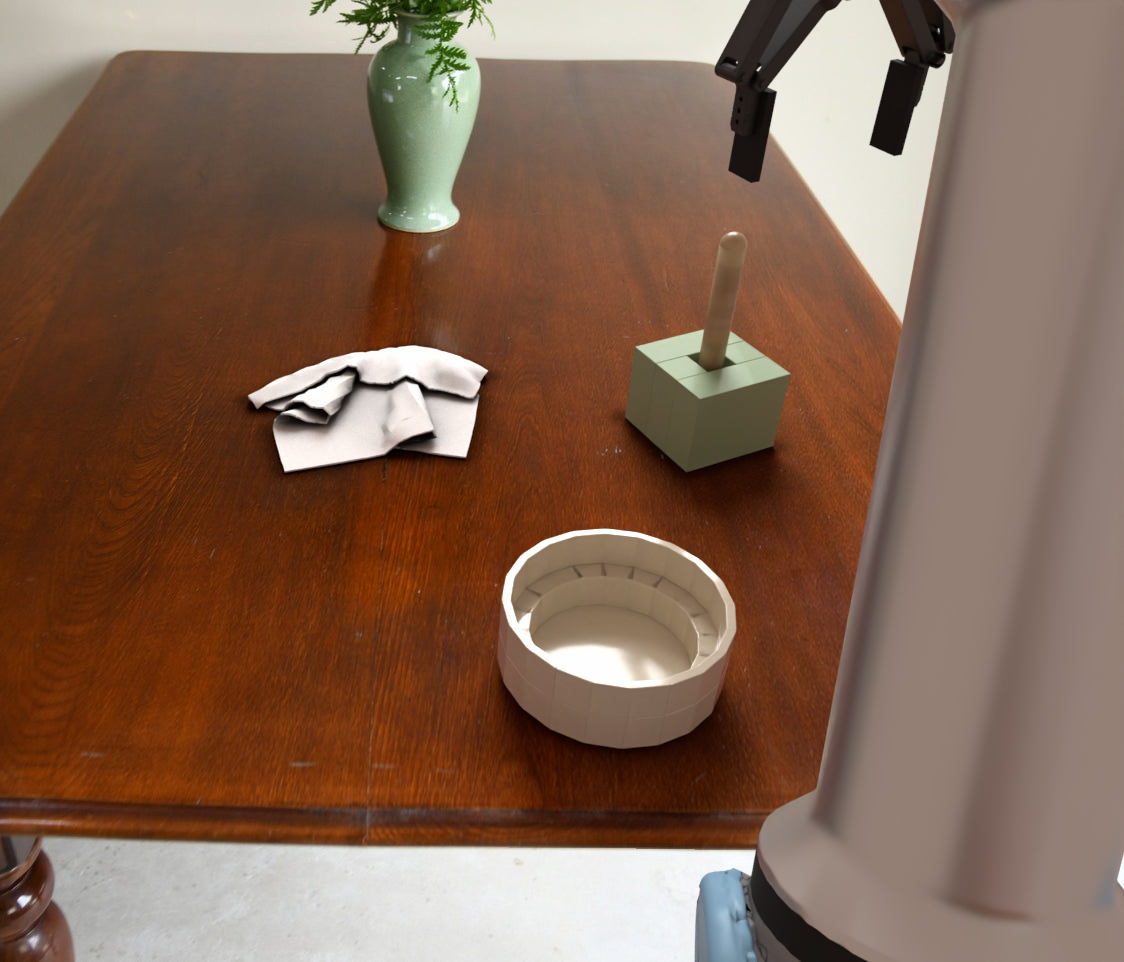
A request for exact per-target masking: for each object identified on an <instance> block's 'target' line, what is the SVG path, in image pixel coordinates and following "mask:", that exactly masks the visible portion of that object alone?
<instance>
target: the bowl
mask: <svg viewBox="0 0 1124 962" xmlns="http://www.w3.org/2000/svg"><path fill="white" fill-rule="evenodd" d="M500 599H501V600H500V612H499V613H500V614H499V629H498V640H497V641H498V643H497V655H496V657H497V662H498V666H499V669H500V674H501V678H502V682H503V684H504V685H505V687H506V688H507V690H508V691H509V692H510V694H511V695H512V697H513V698H514V700H515V701H516V702H517V703H518V705H519V707H521V708H522V709H523V710H524V711H525V712H527V713H528V714H529V715H530V716H532V717H533V718H534V719H535V720H537V721H538V722H540V723H541V724H542V725H543V726H545V727H546V728H547V729H549V730H551V731H554V732H555V733H558V734H561V735H563V736H566V737H568V738H571V739H573V740H575V741H578V742H580V743H582V744H587V745H594V746H601V747H606V748H607V747H608V748H614V749H620V750H621V749H622V750H623V749H633V748H644V747H655V746H660V745H663V744H665V743H668V742H670V741H672V740H675V739H678V738H680V737H682V736H685V735H687V734H689V733H691V732H692V731H694V730H695V729H696V728H697V727H699V725H700V724H701V723H702V722H703V721H705V720H706V719H707V718H708V717H709V716H711V714H712V713H713V712H714V708H715V707H716V704H717V702H718V700H719V698H720V696H721V693H722V692H723V687H724V684H725V679H726V675H727V671H728V667H729V663H730V659H731V655H732V651H733V647H734V643H735V639H736V636H737V631H738V630H737V629H738V628H737V614H736V613H737V611H736V604H735V602H734V600H733V598H732V597H731V594H730V593H729V590H728V589H727V587H726V585H725V583H724V581H723V579H722V578H720V577H719V576H718V575H717V574H716V573H715V572H714V571H713V570H712V569H711V568H710V567H709V566H708V565H707V564H706V563H705V562H704V561H703V560H702V559H700V558H698V557H696V556H695V555H693V554H691V552H688V551H687V550H685V549H684V548H681V547H680V546H678V545H676V544H675V543H673V542H669V541H667V540H663V539H660V538H657V537H654V536H651V535H649V534H645V533H642V532H637V531H628V530H622V529H612V528H597V529H596V528H595V529H594V528H593V529H583V530H581V529H580V530H573V531H569V532H565V533H562V534H559V535H556V536H553V537H549V538H546V539H544V540H541V541H540V542H539V543H537V544H536V545H534V546H532V547H531V548H529V549H528V550H526V551H525V552H523V553H522V554H521V555H520V556H519V557H518V558H517V560H516V561H515V562H514V564H513V565H512V567H510V569H509V570H508V572H507V573H506V575H505V577H504V582H503V588H502V592H501V598H500Z"/></svg>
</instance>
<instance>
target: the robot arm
mask: <svg viewBox="0 0 1124 962" xmlns="http://www.w3.org/2000/svg"><path fill="white" fill-rule="evenodd" d="M845 1H846V2H847V1H850V0H845ZM878 1H879V4H880V7H881V10H882V12H883V14H884V17H885V19H886V21H887V24H888V26H889V28H890V29H889V30H890V31H891V33H892V36H893V39H894V41H895V43H896V46H897V48H898V51H899V53H900V55H901V57H902V58H904V59H903V60H902V59H899V58H895V59H890V60H889V64H888V68H887V73H886V76H885V79H884V84H883V88H882V92H881V96H880V100H879V104H878V108H877V112H876V116H875V120H874V124H873V128H872V131H871V136H870V139H869V144H868V146H871V147H873V148H875V149H877V150H879V151H881V152H884V153H886V154H888V155H890V156H892V157H896V156H897V157H898V156H902V155H903V151H904V148H905V145H906V141H907V136H908V133H909V129H910V126H911V121H912V117H913V115H914V111H915V108H917V107H918V105H919V103H920V101H921V98H922V95H923V91H924V88H925V87H924V86H925V84H926V81H927V76H928V73H929V70H930V68H933V69H935V70H937V69H940V68H941V67H942V66H943V65H945V62H946V59H947V55H951V58H950V65H949V72H948V74H947V75H948V76H947V80H946V81H947V82H946V86H945V92H944V97H943V102H942V108H941V114H940V117H939V118H940V119H939V124H938V130H937V136H936V141H935V145H934V151H933V155H932V156H933V157H932V162H931V167H930V173H929V178H928V184H927V189H926V194H925V200H924V205H923V211H922V217H921V222H920V227H919V232H918V238H917V242H916V243H917V244H916V249H915V253H914V258H913V265H912V270H911V275H910V282H909V287H908V290H907V291H908V292H907V298H906V301H905V308H904V312H903V319H902V324H901V330H900V334H899V340H898V345H897V351H896V357H895V361H894V367H893V372H892V378H891V384H890V388H889V389H890V390H889V395H888V399H887V405H886V411H885V416H884V423H883V427H882V432H881V437H880V438H881V439H880V442H879V448H878V454H877V459H876V465H875V469H874V470H875V471H874V475H873V479H872V480H873V481H872V485H871V486H872V487H871V492H870V497H869V502H868V507H867V513H866V514H867V515H866V518H865V524H864V528H863V534H862V541H861V544H860V545H861V546H860V551H859V556H858V562H857V567H856V572H855V577H854V584H853V588H852V594H851V600H850V605H849V610H848V615H847V622H846V627H845V633H844V637H843V644H842V649H841V654H840V659H839V663H838V664H839V665H838V670H837V676H836V681H835V686H834V691H833V697H832V701H831V702H832V703H831V708H830V713H829V718H828V723H827V729H826V735H825V740H824V744H823V750H822V751H823V752H822V757H821V761H820V767H819V773H818V776H817V777H818V779H817V783H816V788H815V789H814V790H812V791H810V792H808V793H805V794H804V795H802V796H799V797H797V798H796V799H793V800H791V801H789V802H787V803H785V804H783V805H781V806H779V807H777V808H776V809H775V810H774V811H772V812H771V813H770V814H768V816H767V817H766V818H765V820H764V822H763V823H762V825H761V828H760V831H759V833H758V836H757V842H756V847H755V853H754V858H753V863H752V868H751V869H752V870H751V874H747V873H746V872H744V871H741V870H739V869H737V868H734V867H733V868H730V869H726V870H717V871H711V872H707V873H706V874H704V875H703V876H702V877H701V879H700V882H699V885H698V888H699V892H698V897H697V899H696V907H695V923H694V924H695V926H694V962H1124V888H1123V886H1122V885H1121V883H1120V882H1119V881H1118V878H1119V875H1120V870H1121V866H1122V862H1123V858H1124V0H878ZM841 2H843V0H749V2H748V3H747V5H746V7H745V9H744V11H743V13H742V15H741V16H740V18H739V20H738V22H737V24H736V25H735V28H734V29H733V32H732V33H731V35H730V36H729V39H728V41H727V42H726V45H725V46H724V48H723V50H722V52H721V54H720V56H719V58H718V60H717V61H716V64H715V65H714V75H716V77H719V78H721V79H724V80H726V81H728V82H730V83H732V84H734V85H735V93H734V100H733V105H732V110H731V117H730V123H729V126H730V131H731V132H734V135H733V141H732V145H731V152H730V158H729V162H728V168H727V171H728V172H730V173H731V174H734V175H735V176H737V177H739V178H740V179H742V180H745V181H746V182H749V183H750V184H753V183H759V182H760V181H761V175H762V171H763V165H764V161H765V155H766V151H767V144H768V140H769V136H770V129H771V124H772V120H773V115H774V109H775V104H776V99H777V94H778V91H777V90H775V89H773V88H770V87H769V86H770V85H771V84H772V82H773V81H774V80H775V78H776V77H777V76H778V75H779V74H780V72H781V71H782V69H783V68H784V67H785V66H786V65H787V63H788V62H789V61H790V60H791V58H792V57H793V56H794V54H795V53H796V52H797V50H798V49H799V48H800V46H801V45H802V44H803V43H804V42H805V40H806V39H807V38H808V36H809V35H810V34H811V32H813V30H814V29H815V28H816V26H817V25H818V24H819V22H820V21H821V20H822V19H823V17H824V16H825V15H826V14H827V13H828V12H830V11H832V10H835V9H836V8H837V7H838V6H839V5H840V4H841ZM946 54H947V55H946Z"/></svg>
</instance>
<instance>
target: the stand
mask: <svg viewBox="0 0 1124 962" xmlns="http://www.w3.org/2000/svg"><path fill="white" fill-rule="evenodd" d="M703 333H704V328H703V329H699V330H695V331H692V332H687V333H683V334H680V335H675V336H672V337H667V338H663V339H659V340H655V341H652V342H648V343H644V344H640V345H636V346H634V351H633V358H632V365H631V371H630V379H629V387H628V393H627V400H626V406H625V414H624V418H625V419H626V420H627V421H629V423H631V424H632V425H633V426H634V427H635V428H636V429H637V430H638V431H640V433H642V434H643V435H644V436H645V437H646V438H647V439H648V440H649V441H650V442H651V443H653V444H654V445H655V446H656V447H657V448H658V449H660V451H662V452H663V453H664V454H665V455H666V456H667V457H668V458H670V459H671V460H672V461H673V462H674V463H675V464H676V465H677V466H679V468H681V469H682V470H683V471H684V472H685V473H689V472H692V471H695V470H698V469H702V468H706V467H709V466H713V465H715V464H718V463H722V462H726V461H728V460H729V461H730V460H733V459H736V458H738V457H742V456H746V455H749V454H752V453H755V452H758V451H762V450H765V449H768V448H771V447H774V445H775V442H776V437H777V433H778V429H779V425H780V422H781V416H782V413H783V409H784V405H785V400H786V396H787V392H788V389H789V388H788V387H789V384H790V380H791V375H792V374H791V372H789V371H788V370H787V369H785V368H783V367H782V366H780V365H779V364H778V363H777V362H775V361H774V360H772V359H771V358H769V357H768V356H766V355H765V354H763V353H762V352H761V351H759V350H758V349H756V348H755V347H754V346H752V345H751V344H750V343H748V342H747V341H745V340H744V339H743V338H741V337H739V336H738V335H737V334H735V333H734V332H732V330H730V335H729V340H728V345H727V350H726V355H725V360H724V365H723V368H722V369H718V370H714V371H710V372H707V371H706V370H704V369H703V368H702V367H701V366H699V365H698V360H699V355H700V349H701V344H702V338H703Z"/></svg>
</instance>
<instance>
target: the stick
mask: <svg viewBox="0 0 1124 962" xmlns="http://www.w3.org/2000/svg"><path fill="white" fill-rule="evenodd" d="M747 248H748V240H747V238H746V236H745V235H744V234H743V233H742V232H739V231H729V232H728V233H726V234H724V235H722V238H721V239H720V242H719V245H718V251H717V256H716V261H715V266H714V267H715V268H714V272H713V279H712V284H711V289H710V294H709V300H708V305H707V312H706V316H705V323H704V328H703V329H704V333H703V338H702V344H701V349H700V355H699V360H698V365H699V366H701V367H702V368H703V369H704V370H706V371H707V372H710V371H714V370H718V369H722V368H723V365H724V360H725V355H726V350H727V345H728V340H729V335H730V331H732V325H733V320H734V319H733V318H734V314H735V309H736V304H737V300H738V293H739V289H740V283H741V279H742V274H743V269H744V265H745V259H746V253H747Z"/></svg>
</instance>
